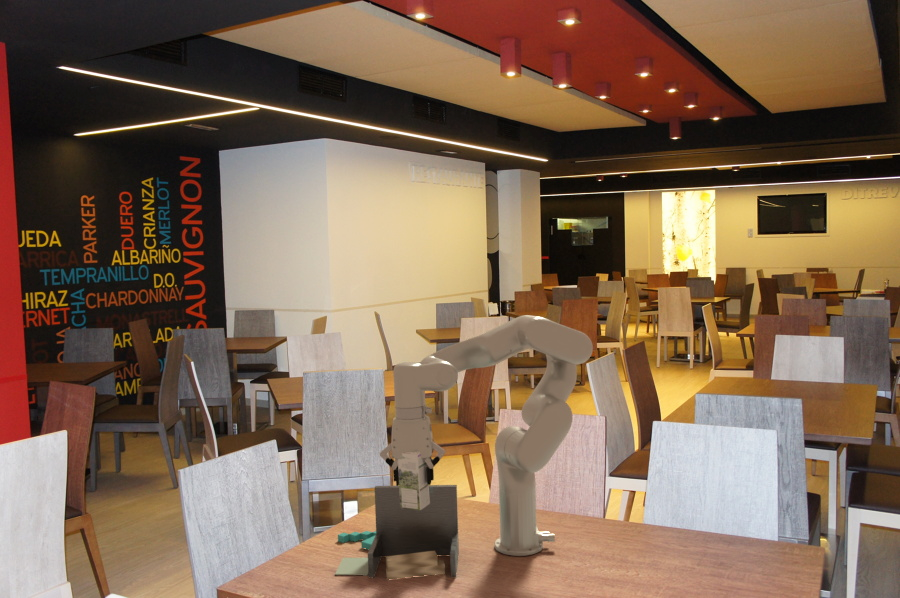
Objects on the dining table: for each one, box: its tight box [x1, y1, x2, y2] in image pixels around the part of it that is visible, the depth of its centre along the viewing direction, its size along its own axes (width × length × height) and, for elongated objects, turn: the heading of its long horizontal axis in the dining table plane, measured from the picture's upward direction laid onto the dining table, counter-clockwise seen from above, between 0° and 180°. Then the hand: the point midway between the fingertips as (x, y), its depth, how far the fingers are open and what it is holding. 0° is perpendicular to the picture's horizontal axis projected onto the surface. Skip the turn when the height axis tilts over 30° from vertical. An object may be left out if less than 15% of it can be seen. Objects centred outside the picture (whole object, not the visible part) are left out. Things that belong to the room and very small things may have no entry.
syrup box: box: [398, 451, 430, 510], centre depth 185 cm, size 6×6×14 cm
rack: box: [367, 484, 460, 579], centre depth 186 cm, size 21×14×18 cm
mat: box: [334, 556, 369, 576], centre depth 186 cm, size 8×10×1 cm
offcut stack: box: [385, 551, 446, 581], centre depth 181 cm, size 14×3×5 cm, turn 100°
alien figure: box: [337, 530, 376, 550], centre depth 206 cm, size 20×2×20 cm
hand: (413, 483), depth 185 cm, fingers closed on syrup box, 7 cm apart
